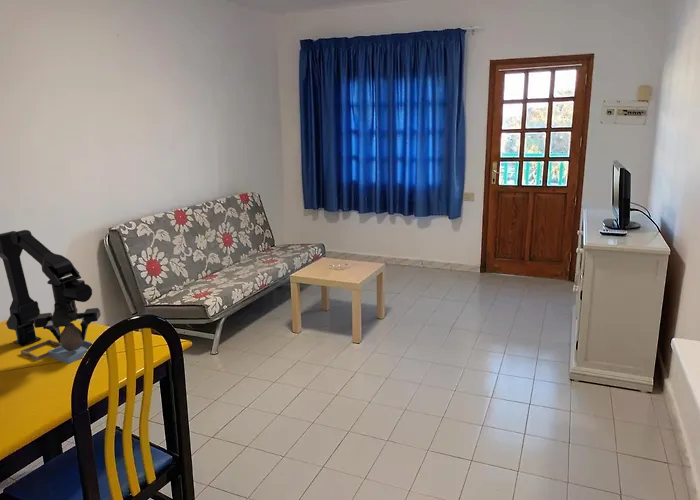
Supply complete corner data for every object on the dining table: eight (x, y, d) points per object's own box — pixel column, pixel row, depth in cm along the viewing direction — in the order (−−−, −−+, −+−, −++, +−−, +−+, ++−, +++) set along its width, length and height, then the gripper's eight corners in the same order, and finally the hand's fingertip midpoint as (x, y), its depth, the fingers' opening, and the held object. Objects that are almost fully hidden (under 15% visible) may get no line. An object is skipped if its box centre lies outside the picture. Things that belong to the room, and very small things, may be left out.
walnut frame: (21, 354, 174) (20, 350, 174) (50, 342, 183) (50, 339, 182) (37, 360, 169) (37, 357, 169) (67, 348, 178) (66, 345, 177)
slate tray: (49, 356, 172) (48, 351, 172) (80, 343, 181) (79, 338, 181) (68, 364, 166) (67, 358, 166) (99, 350, 176) (98, 344, 175)
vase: (75, 354, 169) (71, 329, 167) (56, 352, 171) (52, 327, 168) (89, 344, 176) (85, 321, 174) (71, 343, 177) (67, 319, 175)
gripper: (23, 309, 159) (33, 355, 163) (89, 303, 163) (97, 348, 167) (35, 297, 169) (44, 341, 173) (97, 291, 173) (104, 334, 178)
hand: (72, 341), depth 173 cm, fingers closed on vase, 7 cm apart
